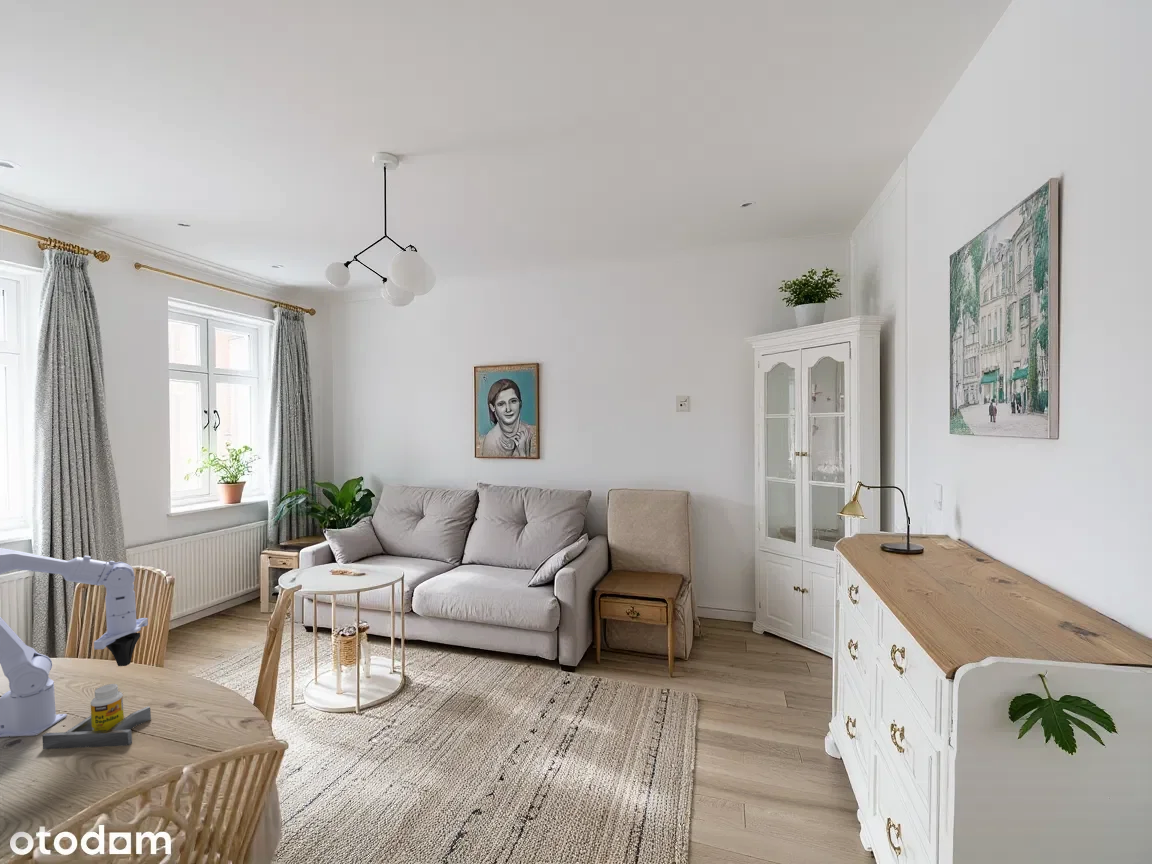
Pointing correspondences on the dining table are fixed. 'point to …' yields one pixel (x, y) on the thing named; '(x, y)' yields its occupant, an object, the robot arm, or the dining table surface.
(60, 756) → the dining table surface
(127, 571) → the robot arm
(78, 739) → the stop cradle
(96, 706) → the supplement bottle
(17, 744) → the dining table surface
